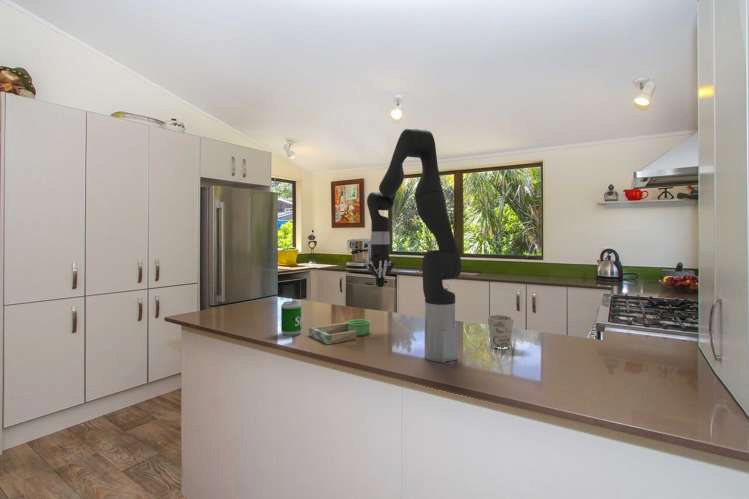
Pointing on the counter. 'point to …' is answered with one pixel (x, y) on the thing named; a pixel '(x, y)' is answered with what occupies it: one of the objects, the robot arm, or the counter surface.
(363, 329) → the ramekin
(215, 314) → the counter surface
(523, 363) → the counter surface
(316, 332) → the rail pocket
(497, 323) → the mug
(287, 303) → the soda can
